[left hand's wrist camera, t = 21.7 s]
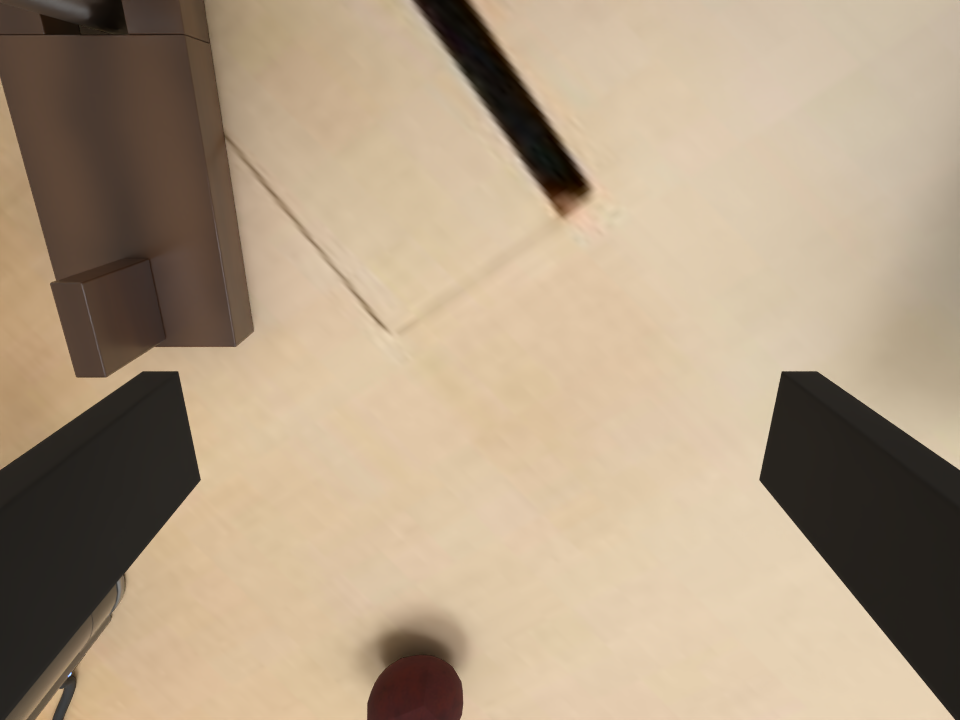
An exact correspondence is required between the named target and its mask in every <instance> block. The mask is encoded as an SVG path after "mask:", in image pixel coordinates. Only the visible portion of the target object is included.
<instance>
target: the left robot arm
mask: <svg viewBox="0 0 960 720" xmlns="http://www.w3.org/2000/svg"><path fill="white" fill-rule="evenodd" d="M200 480H201V479H200V474H199V469H198V465H197V460H196V455H195V450H194V445H193V441H192V436H191V431H190V426H189V421H188V416H187V412H186V407H185V402H184V397H183V392H182V388H181V383H180V378H179V373H178V371H143V372H141V373H140V374H139V375H137V376H136V377H134V378H133V379H131V380H130V381H128V382H127V383H126V384H124V385H123V386H121V387H120V388H118V389H117V390H115V391H114V392H113V393H111V394H110V395H108V396H107V397H105V398H104V399H102V400H101V401H100V402H98V403H97V404H95V405H94V406H92V407H91V408H89V409H88V410H87V411H85V412H84V413H82V414H81V415H79V416H78V417H76V418H75V419H74V420H72V421H71V422H69V423H68V424H66V425H65V426H63V427H62V428H61V429H59V430H58V431H56V432H55V433H53V434H52V435H50V436H49V437H48V438H46V439H45V440H43V441H42V442H40V443H39V444H37V445H36V446H35V447H33V448H32V449H30V450H29V451H27V452H26V453H24V454H23V455H22V456H20V457H19V458H17V459H16V460H14V461H13V462H11V463H10V464H9V465H7V466H6V467H4V468H3V469H1V470H0V720H5V719H6V718H7V716H8V715H9V714H10V713H11V712H12V710H13V709H14V708H15V707H16V705H17V704H18V703H19V702H20V700H21V699H22V698H23V697H24V696H25V694H26V693H27V692H28V691H29V689H30V688H31V687H32V686H33V685H34V683H35V682H36V681H37V680H38V678H39V677H40V676H41V675H42V674H43V672H44V671H45V670H46V669H47V667H48V666H49V665H50V664H51V663H52V661H53V660H54V659H55V658H56V656H57V655H58V654H59V653H60V652H61V650H62V649H63V648H64V647H65V645H66V644H67V643H68V642H69V641H70V639H71V638H72V637H73V636H74V634H75V633H76V632H77V631H78V630H79V628H80V627H81V626H82V625H83V623H84V622H85V621H86V620H87V618H88V617H89V616H90V615H91V614H92V612H93V611H94V610H95V609H96V607H97V606H98V605H99V604H100V603H101V601H102V600H103V599H104V598H105V596H106V595H107V594H108V593H109V592H110V590H111V589H112V588H113V587H114V585H115V584H116V583H117V582H118V581H119V579H120V578H121V577H122V576H123V574H124V573H125V572H126V571H127V570H128V568H129V567H130V566H131V565H132V563H133V562H134V561H135V560H136V559H137V557H138V556H139V555H140V554H141V552H142V551H143V550H144V549H145V548H146V546H147V545H148V544H149V543H150V541H151V540H152V539H153V538H154V537H155V535H156V534H157V533H158V532H159V530H160V529H161V528H162V527H163V525H164V524H165V523H166V522H167V521H168V519H169V518H170V517H171V516H172V514H173V513H174V512H175V511H176V510H177V508H178V507H179V506H180V505H181V503H182V502H183V501H184V500H185V499H186V497H187V496H188V495H189V494H190V492H191V491H192V490H193V489H194V488H195V486H196V485H197V484H198V483H199V481H200ZM759 480H760V481H761V483H762V484H763V485H764V486H765V488H766V489H767V490H768V491H769V492H770V494H771V495H772V496H773V497H774V499H775V500H776V501H777V502H778V503H779V505H780V506H781V507H782V508H783V510H784V511H785V512H786V513H787V514H788V516H789V517H790V518H791V519H792V521H793V522H794V523H795V524H796V525H797V527H798V528H799V529H800V530H801V532H802V533H803V534H804V535H805V537H806V538H807V539H808V540H809V541H810V543H811V544H812V545H813V546H814V548H815V549H816V550H817V551H818V552H819V554H820V555H821V556H822V557H823V559H824V560H825V561H826V562H827V563H828V565H829V566H830V567H831V568H832V570H833V571H834V572H835V573H836V574H837V576H838V577H839V578H840V579H841V581H842V582H843V583H844V584H845V585H846V587H847V588H848V589H849V590H850V592H851V593H852V594H853V595H854V596H855V598H856V599H857V600H858V601H859V603H860V604H861V605H862V606H863V607H864V609H865V610H866V611H867V612H868V614H869V615H870V616H871V617H872V619H873V620H874V621H875V622H876V623H877V625H878V626H879V627H880V628H881V630H882V631H883V632H884V633H885V634H886V636H887V637H888V638H889V639H890V641H891V642H892V643H893V644H894V645H895V647H896V648H897V649H898V650H899V652H900V653H901V654H902V655H903V656H904V658H905V659H906V660H907V661H908V663H909V664H910V665H911V666H912V667H913V669H914V670H915V671H916V672H917V674H918V675H919V676H920V677H921V678H922V680H923V681H924V682H925V683H926V685H927V686H928V687H929V688H930V689H931V691H932V692H933V693H934V694H935V696H936V697H937V698H938V699H939V700H940V702H941V703H942V704H943V705H944V707H945V708H946V709H947V710H948V712H949V713H950V714H951V715H952V716H953V718H954V719H955V720H960V470H959V469H957V468H956V467H954V466H953V465H951V464H950V463H949V462H947V461H946V460H944V459H943V458H941V457H940V456H938V455H937V454H936V453H934V452H933V451H931V450H930V449H928V448H927V447H925V446H924V445H923V444H921V443H920V442H918V441H917V440H915V439H914V438H912V437H911V436H910V435H908V434H907V433H905V432H904V431H902V430H901V429H899V428H898V427H897V426H895V425H894V424H892V423H891V422H889V421H888V420H886V419H885V418H884V417H882V416H881V415H879V414H878V413H876V412H875V411H873V410H872V409H871V408H869V407H868V406H866V405H865V404H863V403H862V402H860V401H859V400H858V399H856V398H855V397H853V396H852V395H850V394H849V393H847V392H846V391H845V390H843V389H842V388H840V387H839V386H837V385H836V384H834V383H833V382H832V381H830V380H829V379H827V378H826V377H824V376H823V375H821V374H820V373H819V372H817V371H782V373H781V378H780V383H779V388H778V392H777V397H776V402H775V407H774V412H773V416H772V421H771V426H770V431H769V436H768V441H767V445H766V450H765V455H764V460H763V465H762V469H761V474H760V479H759Z"/></svg>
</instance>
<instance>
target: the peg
mask: <svg viewBox="0 0 960 720" xmlns="http://www.w3.org/2000/svg"><path fill="white" fill-rule="evenodd" d="M0 3H4V4H7V5H11V6H14V7H18V8H21V9H25V10H28V11H32V12H35V13H39V14H42V15H46V16H50V17H53V18H57V19H60V20H64V21H67V22H71V23H74V24H78V25H81V26H85V27H88V28H92V29H96V30H99V31H103V32H106V33H110V34H114V35H127V34H128V31H127V26H126V21H125V16H124V11H123V5H122V0H0Z"/></svg>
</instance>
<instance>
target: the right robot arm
mask: <svg viewBox="0 0 960 720" xmlns="http://www.w3.org/2000/svg"><path fill="white" fill-rule="evenodd" d="M124 590H125V580H124V575H123V576H122V577H121V578H120V579H119V581H118V582H117V583H116V584H115V585H114V587H113V588H112V589H111V590H110V592H109V593H108V594H107V595H106V596H105V598H104V599H103V600H102V601H101V603H100V604H99V605H98V606H97V607H96V609H95V610H94V611H93V612H92V614H91V615H90V616H89V617H88V618H87V620H86V621H85V622H84V623H83V625H82V626H81V627H80V628H79V630H78V631H77V632H76V633H75V634H74V636H73V637H72V638H71V639H70V641H69V642H68V643H67V644H66V645H65V647H64V648H63V649H62V650H61V652H60V653H59V654H58V655H57V656H56V658H55V659H54V660H53V661H52V663H51V664H50V665H49V666H48V667H47V669H46V670H45V671H44V672H43V674H42V675H41V676H40V677H39V678H38V680H37V681H36V682H35V683H34V685H33V686H32V687H31V688H30V689H29V691H28V692H27V693H26V694H25V696H24V697H23V698H22V699H21V700H20V702H19V703H18V704H17V705H16V707H15V708H14V709H13V710H12V712H11V713H10V714H9V715H8V716H7V718H6V719H5V720H35V719H36V718H37V717H38V715H39V714H40V713H41V711H42V710H43V709H44V708H45V706H46V705H47V704H48V702H49V701H50V700H51V698H52V697H53V696H54V694H55V693H56V692H57V691H58V689H63V688H64V692H63V694H62V697H61V700H60V702H59V704H58V707H57V709H56V711H55V714H54V716H53V719H52V720H63V718H64V716H65V713H66V711H67V708H68V706H69V704H70V701H71V699H72V697H73V694H74V691H75V686H76V680H75V677H74V676H72V675H71V673H72V672H73V670H74V669H75V668H76V666H77V665H78V664H79V663H80V661H81V660H82V659H83V657H84V656H85V654H86V653H87V651H88V650H89V649H90V647H91V646H92V645H93V643H94V642H95V641H96V640H97V638H98V637H99V636H100V634H101V633H102V632H103V630H104V629H105V628H106V626H107V625H108V624H109V623H110V621H111V615H110V614H111V613H112V612H113V611H114V610H115V608H116V607H117V606H118V604H119V603H120V601H121V600H122V597H123V595H124Z"/></svg>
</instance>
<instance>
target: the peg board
mask: <svg viewBox="0 0 960 720" xmlns="http://www.w3.org/2000/svg"><path fill="white" fill-rule="evenodd" d="M122 5H123V11H124V16H125V21H126V26H127V31H128V34H129V35H80V31H79V26H78V24H74V23H71V22H67V21H64V20H60V19H57V18H53V17H50V16H46V15H42V14H39V13H35V12H32V11H28V10H25V9H21V8H18V7H14V6H11V5H7V4H4V3H0V78H1V82H2V85H3V89H4V92H5V96H6V100H7V103H8V107H9V111H10V114H11V118H12V122H13V125H14V129H15V132H16V136H17V140H18V143H19V147H20V151H21V154H22V158H23V162H24V165H25V169H26V172H27V176H28V180H29V183H30V187H31V191H32V194H33V198H34V202H35V205H36V209H37V212H38V216H39V220H40V223H41V227H42V231H43V234H44V238H45V242H46V245H47V249H48V252H49V256H50V260H51V263H52V267H53V271H54V274H55V278H56V281H54V282H51V283H50V285H51V289H52V292H53V296H54V300H55V303H56V307H57V310H58V314H59V317H60V321H61V325H62V328H63V332H64V335H65V339H66V342H67V346H68V350H69V353H70V357H71V360H72V364H73V367H74V371H75V375H76V377H108V376H109V375H111V374H112V373H114V372H116V371H117V370H119V369H120V368H122V367H123V366H125V365H127V364H128V363H130V362H131V361H133V360H134V359H136V358H137V357H139V356H141V355H142V354H144V353H145V352H147V351H148V350H150V349H151V348H153V347H236V346H237V345H239V344H240V343H241V342H242V341H243V340H244V339H246V338H247V337H248V336H249V335H250V334H252V333H253V332H254V330H253V323H252V317H251V310H250V304H249V297H248V291H247V284H246V277H245V271H244V264H243V258H242V251H241V245H240V238H239V231H238V225H237V218H236V212H235V205H234V199H233V192H232V185H231V179H230V172H229V166H228V159H227V153H226V146H225V139H224V133H223V126H222V120H221V113H220V107H219V100H218V93H217V87H216V80H215V74H214V67H213V61H212V54H211V47H210V44H209V43H210V41H209V34H208V27H207V21H206V14H205V8H204V1H203V0H122Z"/></svg>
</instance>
